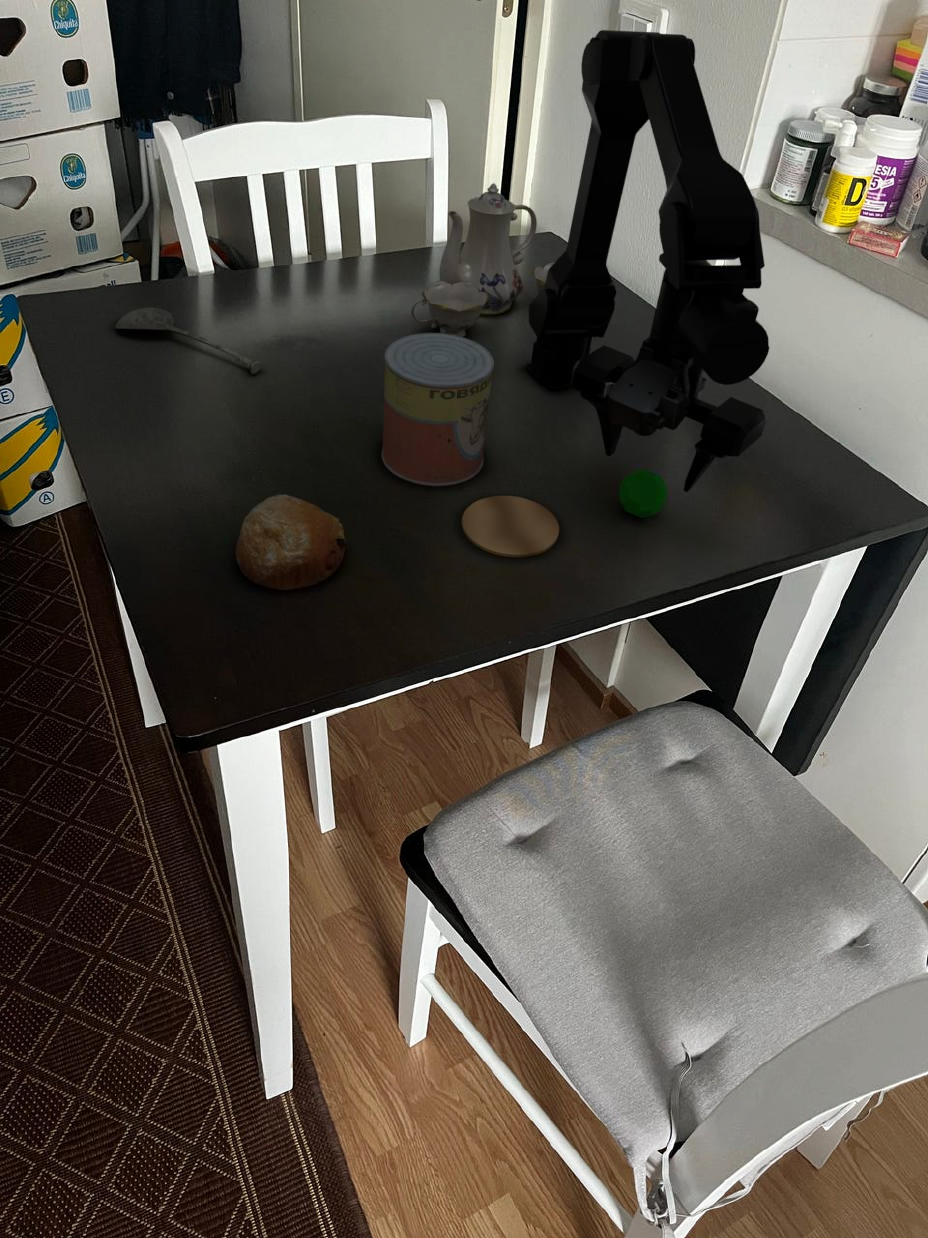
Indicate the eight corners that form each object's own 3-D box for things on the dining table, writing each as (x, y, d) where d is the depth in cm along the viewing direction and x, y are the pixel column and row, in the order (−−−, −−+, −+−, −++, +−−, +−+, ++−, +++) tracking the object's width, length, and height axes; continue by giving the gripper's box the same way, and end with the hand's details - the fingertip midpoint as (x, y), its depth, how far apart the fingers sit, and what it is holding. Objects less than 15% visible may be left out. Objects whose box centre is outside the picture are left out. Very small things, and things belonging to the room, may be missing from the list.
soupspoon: (144, 316, 130) (106, 336, 126) (139, 292, 127) (100, 311, 123) (274, 363, 122) (239, 386, 118) (271, 338, 119) (235, 360, 115)
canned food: (447, 498, 104) (456, 397, 96) (361, 461, 108) (362, 360, 100) (501, 453, 111) (514, 355, 103) (418, 419, 115) (424, 322, 107)
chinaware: (443, 367, 128) (461, 245, 116) (374, 304, 136) (385, 184, 124) (602, 323, 142) (632, 210, 130) (530, 268, 150) (553, 157, 138)
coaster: (524, 489, 106) (524, 486, 106) (577, 541, 100) (578, 538, 100) (443, 512, 102) (444, 509, 102) (494, 568, 96) (495, 565, 96)
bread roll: (262, 554, 100) (222, 495, 95) (355, 521, 98) (319, 458, 93) (255, 620, 93) (211, 560, 88) (355, 585, 91) (316, 522, 86)
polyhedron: (606, 513, 104) (615, 475, 101) (628, 493, 107) (636, 455, 104) (649, 532, 102) (658, 494, 99) (669, 510, 105) (679, 473, 102)
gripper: (550, 322, 90) (529, 467, 100) (735, 398, 82) (691, 546, 93) (614, 288, 97) (587, 426, 107) (789, 354, 89) (743, 496, 100)
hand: (647, 471), depth 101 cm, fingers open, 9 cm apart
